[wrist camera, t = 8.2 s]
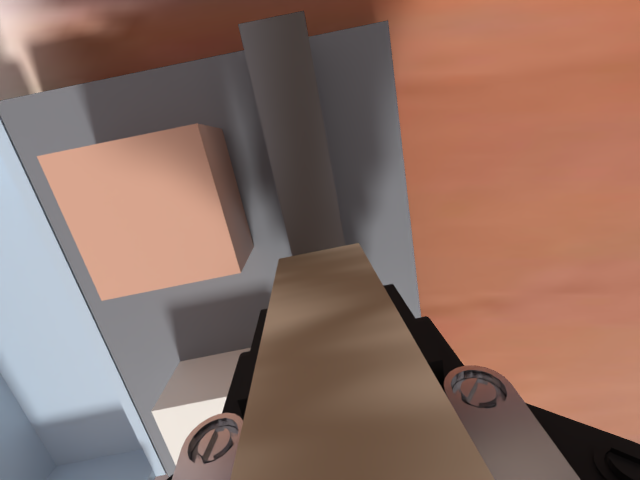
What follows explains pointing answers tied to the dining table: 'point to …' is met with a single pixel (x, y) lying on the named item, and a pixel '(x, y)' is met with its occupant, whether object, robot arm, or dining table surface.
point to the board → (253, 183)
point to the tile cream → (193, 396)
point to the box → (56, 357)
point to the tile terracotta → (152, 209)
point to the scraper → (332, 317)
